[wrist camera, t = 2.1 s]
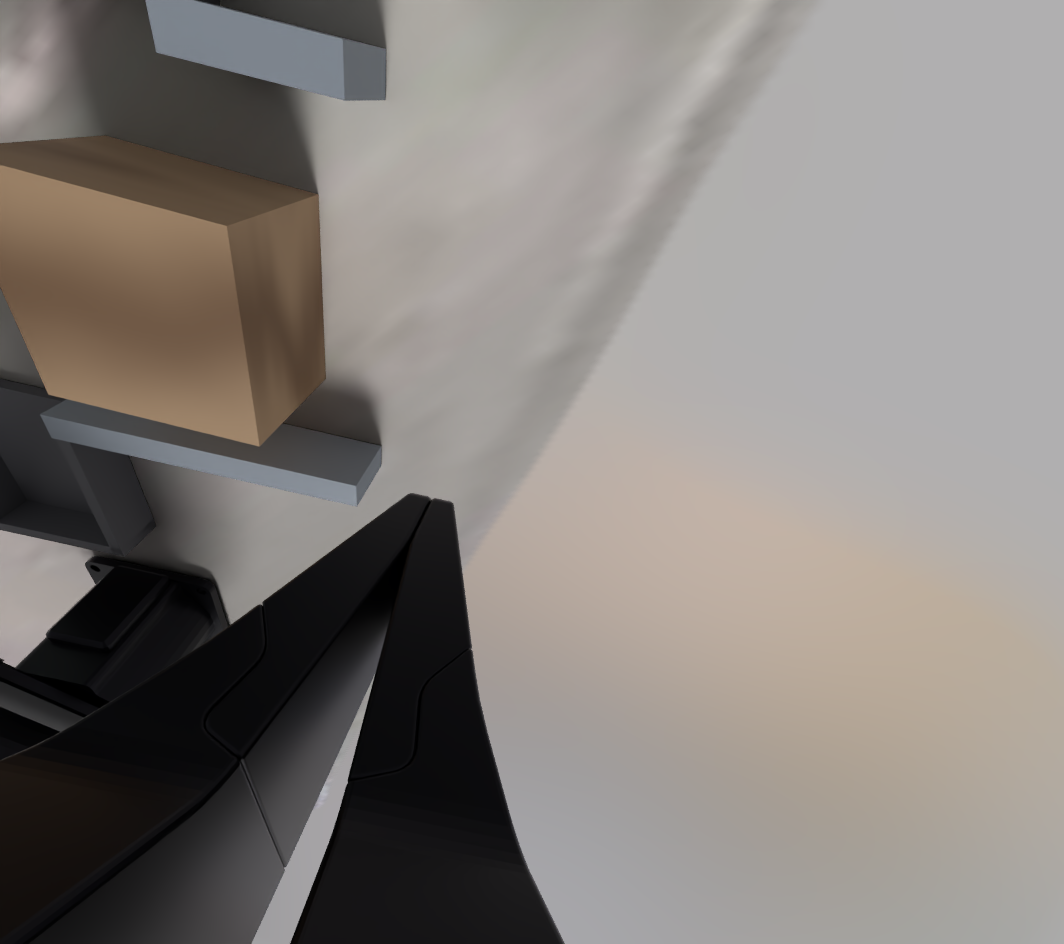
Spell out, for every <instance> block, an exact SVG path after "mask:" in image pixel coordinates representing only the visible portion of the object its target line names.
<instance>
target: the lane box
mask: <svg viewBox="0 0 1064 944" xmlns="http://www.w3.org/2000/svg"><path fill="white" fill-rule="evenodd" d="M145 1H146V6H147V11H148V15H149V20H150V25H151V30H152V34H153V39H154V44H155V48H156V53H160V54H164V55H168V56H172V57H176V58H180V59H184V60H188V61H192V62H196V63H200V64H203V65H207V66H211V67H215V68H219V69H223V70H227V71H231V72H235V73H239V74H243V75H247V76H250V77H254V78H258V79H262V80H266V81H270V82H274V83H278V84H282V85H286V86H290V87H294V88H297V89H301V90H305V91H309V92H313V93H317V94H321V95H325V96H329V97H333V98H337V99H341V100H345V101H347V100H385V89H386V49H385V48H381V47H377V46H373V45H369V44H365V43H361V42H358V41H354V40H350V39H346V38H342V37H338V36H335V35H331V34H327V33H323V32H319V31H315V30H311V29H308V28H304V27H300V26H296V25H292V24H288V23H284V22H281V21H277V20H273V19H269V18H265V17H261V16H258V15H254V14H250V13H246V12H242V11H238V10H234V9H231V8H227V7H223V6H220V0H145ZM128 455H130V456H134V457H139V458H143V459H147V460H152V461H156V462H161V463H165V464H170V465H174V466H179V467H183V468H188V469H192V470H196V471H201V472H205V473H210V474H214V475H219V476H223V477H228V478H232V479H236V480H241V481H245V482H250V483H254V484H259V485H263V486H268V487H272V488H277V489H281V490H285V491H290V492H294V493H299V494H303V495H308V496H312V497H317V498H321V499H325V500H330V501H334V502H339V503H343V504H348V505H352V506H357V505H358V504H359V502H360V500H361V499H362V497H363V495H364V494H365V492H366V490H367V489H368V487H369V485H370V484H371V482H372V480H373V479H374V477H375V475H376V473H377V472H378V470H379V468H380V467H381V446H379V445H375V444H371V443H366V442H362V441H357V440H353V439H349V438H344V437H340V436H336V435H331V434H327V433H323V432H318V431H314V430H310V429H305V428H301V427H297V426H292V425H288V424H283V423H282V424H281V425H280V426H279V427H278V428H277V429H276V430H275V431H274V432H273V433H272V434H271V435H270V436H269V437H268V438H267V439H266V440H265V442H264V443H263V444H262V445H261V446H260V447H259V446H255V445H251V444H247V443H243V442H239V441H235V440H231V439H227V438H223V437H219V436H215V435H211V434H206V433H202V432H198V431H194V430H190V429H186V428H182V427H178V426H174V425H170V424H166V423H162V422H158V421H154V420H150V419H146V418H142V417H138V416H133V415H129V414H125V413H121V412H117V411H113V410H109V409H105V408H101V407H97V406H93V405H89V404H85V403H81V402H77V401H73V400H69V399H64V398H60V397H56V396H52V395H48V393H47V390H46V389H43V388H39V387H34V386H30V385H26V384H21V383H17V382H12V381H8V380H4V379H0V530H3V531H8V532H12V533H17V534H22V535H26V536H31V537H36V538H40V539H45V540H49V541H54V542H59V543H63V544H68V545H72V546H77V547H82V548H86V549H91V550H95V551H100V552H105V553H109V554H114V555H118V556H123V557H125V556H126V555H127V554H128V553H129V552H130V551H131V550H132V549H133V548H134V547H135V546H136V545H137V544H138V543H139V542H140V541H141V540H142V539H143V538H144V537H145V536H146V535H147V534H149V533H150V532H151V531H152V530H153V529H154V528H155V527H156V525H155V522H154V519H153V517H152V514H151V512H150V509H149V507H148V504H147V502H146V499H145V497H144V494H143V492H142V489H141V487H140V484H139V481H138V479H137V476H136V474H135V471H134V469H133V466H132V464H131V461H130V459H129V456H128Z"/></svg>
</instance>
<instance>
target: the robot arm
mask: <svg viewBox="0 0 1064 944" xmlns="http://www.w3.org/2000/svg"><path fill="white" fill-rule="evenodd" d="M85 566H86V568H87V570H88V572H89V573H90V575H91V577H92V579H93V580H94V582H95V584H96V585H95V586H94V587H93V588H92V589H91V590H90V591H89V592H88V593H87V594H86V595H85V596H83V597H82V598H81V599H80V600H79V601H78V602H77V603H76V604H75V605H74V606H73V607H72V608H71V609H70V610H69V611H68V612H67V613H66V614H65V615H64V616H63V617H62V618H61V619H60V620H59V621H58V622H57V623H56V624H54V625H53V626H52V627H51V628H50V629H49V630H48V632H47V633H46V638H45V639H44V640H43V641H42V642H41V643H40V644H39V645H38V646H37V647H36V648H35V649H34V650H33V651H32V652H31V653H30V654H29V655H28V656H27V657H26V658H24V659H23V660H22V661H21V662H20V663H19V664H18V665H17V666H16V667H15V668H14V667H12V666H10V665H8V664H5V663H3V661H4V660H3V659H1V658H0V944H251V943H252V941H253V939H254V937H255V934H256V932H257V930H258V928H259V926H260V924H261V921H262V919H263V917H264V915H265V913H266V910H267V908H268V906H269V904H270V902H271V900H272V897H273V895H274V893H275V891H276V889H277V886H278V884H279V882H280V880H281V878H282V876H283V873H284V871H285V869H284V867H286V866H287V864H288V862H289V860H290V858H291V856H292V853H293V851H294V849H295V847H296V844H297V842H298V840H299V838H300V836H301V834H302V832H303V829H304V827H305V825H306V823H307V821H308V818H309V816H310V814H311V812H312V810H313V808H314V805H315V803H316V801H317V799H318V797H319V794H320V792H321V790H322V788H323V786H324V783H325V781H326V779H327V777H328V775H329V773H330V770H331V768H332V766H333V764H334V762H335V759H336V757H337V755H338V753H339V751H340V749H341V746H342V744H343V742H344V740H345V738H346V735H347V733H348V731H349V729H350V727H351V725H352V722H353V720H354V718H355V716H356V714H357V711H358V709H359V707H360V705H361V703H362V701H363V698H364V696H365V694H366V692H367V690H368V687H369V685H370V683H371V681H372V679H373V676H374V674H375V677H374V681H373V685H372V689H371V692H370V696H369V700H368V704H367V708H366V712H365V715H364V719H363V723H362V727H361V731H360V735H359V738H358V742H357V746H356V750H355V754H354V758H353V762H352V766H351V769H350V773H349V777H348V784H347V786H346V789H345V792H344V796H343V800H342V803H341V807H340V810H339V813H338V817H337V820H336V823H335V826H334V829H333V833H332V836H331V838H330V841H329V844H328V846H327V849H326V852H325V854H324V857H323V859H322V862H321V865H320V867H319V870H318V873H317V875H316V878H315V881H314V883H313V885H312V888H311V891H310V893H309V896H308V899H307V901H306V904H305V906H304V909H303V912H302V914H301V917H300V919H299V922H298V925H297V927H296V930H295V933H294V935H293V938H292V940H291V943H290V944H565V943H564V941H563V939H562V937H561V935H560V933H559V931H558V929H557V927H556V925H555V923H554V921H553V919H552V917H551V915H550V913H549V911H548V908H547V906H546V904H545V902H544V900H543V898H542V896H541V894H540V892H539V890H538V888H537V885H536V883H535V881H534V879H533V877H532V875H531V873H530V871H529V869H528V866H527V864H526V861H525V859H524V856H523V853H522V851H521V848H520V845H519V842H518V839H517V836H516V833H515V830H514V827H513V824H512V820H511V817H510V813H509V810H508V806H507V803H506V799H505V795H504V792H503V788H502V784H501V780H500V777H499V773H498V769H497V766H496V762H495V758H494V755H493V751H492V747H491V744H490V740H489V736H488V733H487V729H486V725H485V720H484V715H483V711H482V707H481V703H480V698H479V692H478V686H477V679H476V673H475V666H474V659H473V652H472V650H471V648H472V644H471V637H470V629H469V621H468V613H467V605H466V598H465V590H464V582H463V574H462V566H461V558H460V550H459V542H458V534H457V527H456V519H455V511H454V505H453V503H452V502H450V501H445V500H441V499H436V498H434V499H432V500H431V499H430V498H429V497H428V496H423V495H419V494H414V493H410V494H408V495H406V496H405V497H404V498H402V499H401V500H400V501H398V502H397V503H396V504H394V505H393V506H391V507H390V508H389V509H387V510H386V511H385V512H383V513H382V514H381V515H379V516H378V517H377V518H375V519H374V520H373V521H371V522H370V523H369V524H367V525H366V526H364V527H363V528H362V529H360V530H359V531H358V532H356V533H355V534H354V535H352V536H351V537H350V538H348V539H347V540H346V541H344V542H343V543H341V544H340V545H339V546H337V547H336V548H335V549H333V550H332V551H331V552H329V553H328V554H327V555H325V556H324V557H323V558H321V559H320V560H318V561H317V562H316V563H314V564H313V565H312V566H310V567H309V568H308V569H306V570H305V571H304V572H302V573H301V574H300V575H298V576H297V577H295V578H294V579H293V580H291V581H290V582H289V583H287V584H286V585H285V586H283V587H282V588H281V589H279V590H278V591H277V592H275V593H274V594H272V595H271V596H270V597H268V598H267V599H266V600H264V601H263V606H262V605H257V606H256V607H255V608H253V609H252V610H250V611H249V612H248V613H246V614H245V615H244V616H242V617H241V618H240V619H238V620H237V621H235V622H234V623H233V624H231V625H230V626H228V625H227V622H226V619H225V616H224V613H223V609H222V606H221V603H220V600H219V597H218V594H217V591H216V588H215V586H214V585H213V584H212V583H211V582H209V581H207V580H204V579H200V578H195V577H191V576H186V575H182V574H177V573H172V572H168V571H163V570H158V569H154V568H149V567H145V566H140V565H135V564H131V563H126V562H122V561H117V560H112V559H108V558H103V557H98V556H93V557H92V558H90V559H89V560H88V561H87V562H86V563H85ZM375 672H376V673H375Z"/></svg>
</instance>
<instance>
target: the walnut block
mask: <svg viewBox="0 0 1064 944" xmlns="http://www.w3.org/2000/svg"><path fill="white" fill-rule="evenodd" d="M0 288H1V290H2V292H3V294H4V297H5V299H6V301H7V303H8V305H9V308H10V310H11V312H12V314H13V317H14V319H15V321H16V323H17V326H18V328H19V330H20V332H21V335H22V337H23V339H24V341H25V343H26V346H27V348H28V350H29V352H30V355H31V357H32V359H33V361H34V364H35V366H36V368H37V370H38V372H39V375H40V377H41V379H42V381H43V384H44V386H45V388H46V390H47V393H48V395H52V396H56V397H60V398H64V399H69V400H73V401H77V402H81V403H85V404H89V405H93V406H97V407H101V408H105V409H109V410H113V411H117V412H121V413H125V414H129V415H133V416H138V417H142V418H146V419H150V420H154V421H158V422H162V423H166V424H170V425H174V426H178V427H182V428H186V429H190V430H194V431H198V432H202V433H206V434H211V435H215V436H219V437H223V438H227V439H231V440H235V441H239V442H243V443H247V444H251V445H255V446H259V447H260V446H261V445H262V444H263V443H264V442H265V440H266V439H267V438H268V437H269V436H270V435H271V434H272V433H273V432H274V431H275V430H276V429H277V428H278V427H279V426H280V425H281V424H282V423H283V422H284V421H285V420H286V419H287V418H288V417H289V416H290V415H291V414H292V413H293V412H294V411H295V410H296V409H297V408H298V407H299V406H300V405H301V404H302V402H303V401H304V400H305V399H306V398H307V397H308V396H309V395H310V394H311V393H312V392H313V391H314V390H315V389H316V388H317V387H318V386H319V385H320V384H321V383H322V382H323V381H324V380H325V379H326V372H325V347H324V322H323V297H322V272H321V247H320V222H319V197H318V194H315V193H311V192H308V191H304V190H300V189H297V188H293V187H290V186H286V185H282V184H279V183H275V182H271V181H268V180H264V179H261V178H257V177H253V176H250V175H246V174H243V173H239V172H235V171H232V170H228V169H224V168H221V167H217V166H214V165H210V164H206V163H203V162H199V161H196V160H192V159H188V158H185V157H181V156H177V155H174V154H170V153H167V152H163V151H159V150H156V149H152V148H149V147H145V146H141V145H138V144H134V143H130V142H127V141H123V140H120V139H116V138H112V137H109V136H91V137H78V138H65V139H52V140H39V141H25V142H12V143H0Z"/></svg>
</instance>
